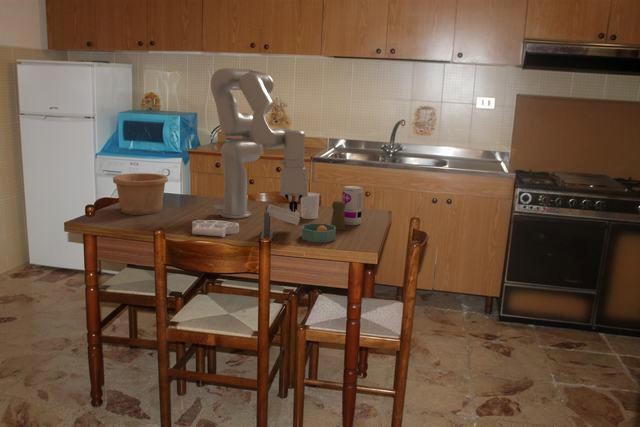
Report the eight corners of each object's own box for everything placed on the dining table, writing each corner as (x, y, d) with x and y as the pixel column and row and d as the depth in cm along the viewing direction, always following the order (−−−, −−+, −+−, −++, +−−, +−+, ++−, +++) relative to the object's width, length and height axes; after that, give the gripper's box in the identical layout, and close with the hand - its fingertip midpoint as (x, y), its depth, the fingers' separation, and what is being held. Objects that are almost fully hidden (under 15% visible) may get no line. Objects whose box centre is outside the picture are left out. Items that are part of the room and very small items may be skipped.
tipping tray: (265, 214, 210) (268, 208, 209) (268, 204, 227) (270, 198, 227) (297, 225, 211) (299, 218, 210) (298, 214, 228) (300, 208, 228)
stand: (260, 241, 209) (260, 214, 207) (262, 231, 222) (263, 205, 220) (271, 241, 209) (271, 214, 207) (273, 231, 223) (273, 205, 220)
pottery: (174, 206, 259) (173, 174, 256) (159, 217, 238) (158, 182, 234) (125, 204, 260) (124, 172, 256) (106, 215, 238) (104, 180, 235)
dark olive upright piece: (329, 226, 234) (330, 199, 232) (344, 226, 235) (345, 199, 232) (330, 230, 228) (332, 202, 226) (346, 230, 229) (347, 202, 226)
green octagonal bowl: (302, 241, 210) (302, 231, 209) (302, 233, 222) (302, 222, 221) (336, 242, 211) (336, 231, 210) (334, 233, 223) (334, 223, 222)
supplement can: (347, 226, 235) (349, 189, 232) (337, 221, 242) (339, 185, 239) (364, 224, 239) (366, 188, 235) (354, 220, 246) (356, 184, 242)
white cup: (316, 220, 243) (317, 196, 241) (298, 218, 244) (298, 195, 242) (320, 216, 250) (321, 193, 248) (302, 214, 252) (303, 191, 250)
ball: (329, 229, 214) (325, 239, 214) (328, 226, 218) (324, 236, 218) (318, 225, 213) (314, 235, 214) (318, 222, 217) (314, 232, 218)
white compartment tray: (183, 235, 214) (198, 226, 228) (231, 239, 211) (243, 229, 225) (183, 226, 213) (198, 217, 227) (231, 230, 211) (243, 221, 225)
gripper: (273, 164, 216) (273, 213, 220) (314, 165, 217) (313, 214, 221) (274, 161, 224) (274, 208, 228) (314, 162, 224) (312, 209, 228)
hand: (293, 211), depth 224 cm, fingers closed
